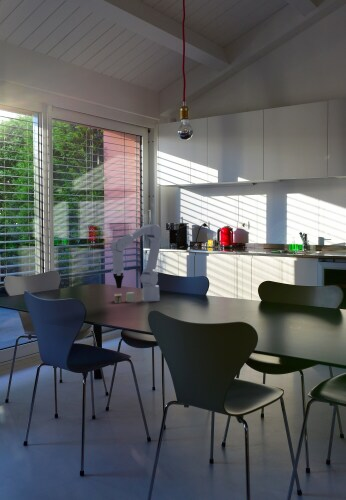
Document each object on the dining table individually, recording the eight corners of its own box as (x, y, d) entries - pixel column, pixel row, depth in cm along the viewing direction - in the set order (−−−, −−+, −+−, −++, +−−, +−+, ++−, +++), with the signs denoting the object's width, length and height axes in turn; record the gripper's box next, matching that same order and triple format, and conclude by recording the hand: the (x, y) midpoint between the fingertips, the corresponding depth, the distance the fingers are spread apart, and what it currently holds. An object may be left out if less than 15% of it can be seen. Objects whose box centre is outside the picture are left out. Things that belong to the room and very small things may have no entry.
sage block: (132, 300, 301) (132, 292, 300) (134, 301, 297) (134, 292, 297) (126, 301, 299) (125, 292, 299) (128, 302, 296) (128, 293, 295)
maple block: (121, 302, 295) (121, 300, 301) (121, 295, 294) (121, 293, 301) (114, 302, 294) (114, 300, 301) (114, 295, 294) (114, 293, 301)
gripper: (110, 261, 292) (111, 285, 293) (110, 264, 277) (111, 289, 278) (123, 261, 293) (123, 285, 294) (124, 263, 278) (124, 288, 279)
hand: (118, 287), depth 286 cm, fingers open, 7 cm apart
